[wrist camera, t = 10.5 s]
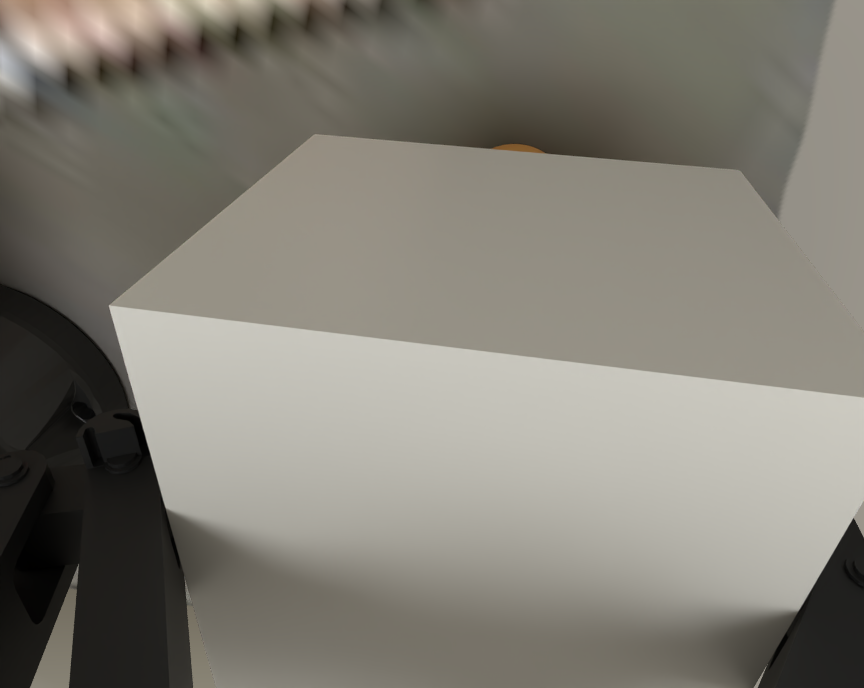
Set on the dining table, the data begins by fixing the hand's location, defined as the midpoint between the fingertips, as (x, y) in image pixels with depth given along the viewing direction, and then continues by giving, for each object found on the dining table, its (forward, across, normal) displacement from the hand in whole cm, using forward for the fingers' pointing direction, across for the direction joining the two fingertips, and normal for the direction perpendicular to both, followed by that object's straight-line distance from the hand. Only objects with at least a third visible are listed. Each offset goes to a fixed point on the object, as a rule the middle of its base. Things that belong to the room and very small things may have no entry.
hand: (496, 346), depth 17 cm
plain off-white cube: (+1, 0, 0) cm, 1 cm away
